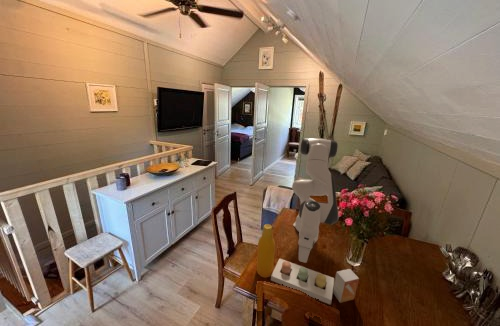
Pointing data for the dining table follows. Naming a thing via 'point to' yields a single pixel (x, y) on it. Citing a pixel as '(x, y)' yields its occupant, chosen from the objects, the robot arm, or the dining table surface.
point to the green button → (303, 274)
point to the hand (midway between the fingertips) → (305, 257)
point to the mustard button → (320, 281)
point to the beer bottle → (266, 252)
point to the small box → (345, 285)
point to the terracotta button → (286, 268)
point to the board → (303, 286)
